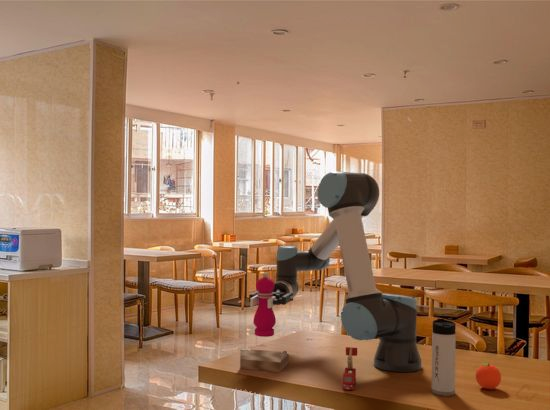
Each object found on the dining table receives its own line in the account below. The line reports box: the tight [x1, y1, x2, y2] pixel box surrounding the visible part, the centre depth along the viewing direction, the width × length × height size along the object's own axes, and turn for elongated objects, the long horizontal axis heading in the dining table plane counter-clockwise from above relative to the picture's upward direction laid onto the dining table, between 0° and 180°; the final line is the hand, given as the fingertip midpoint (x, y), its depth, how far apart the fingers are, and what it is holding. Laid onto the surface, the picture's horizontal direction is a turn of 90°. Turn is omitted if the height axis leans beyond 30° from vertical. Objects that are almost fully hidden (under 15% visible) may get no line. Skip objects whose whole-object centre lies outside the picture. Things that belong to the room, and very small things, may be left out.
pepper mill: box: [253, 272, 277, 338], centre depth 190 cm, size 7×7×20 cm
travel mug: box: [431, 318, 457, 397], centre depth 164 cm, size 6×7×20 cm
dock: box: [239, 347, 290, 373], centre depth 189 cm, size 13×11×6 cm
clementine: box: [473, 363, 502, 390], centre depth 168 cm, size 8×7×7 cm
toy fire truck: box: [342, 346, 358, 391], centre depth 171 cm, size 3×14×10 cm, turn 168°
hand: (260, 303), depth 184 cm, fingers closed on pepper mill, 5 cm apart
